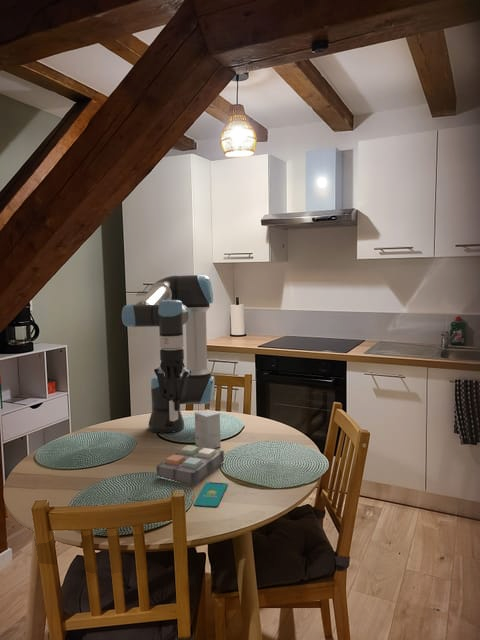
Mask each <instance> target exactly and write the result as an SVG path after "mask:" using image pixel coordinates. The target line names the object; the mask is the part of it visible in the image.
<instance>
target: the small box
mask: <svg viewBox="0 0 480 640" xmlns="http://www.w3.org/2000/svg"><path fill="white" fill-rule="evenodd" d="M220 414H221V413H219V412H216V411H215V410H214V411H213V410H210V409H209V408H207V409H203V410H199V411H195V412H194V435H195V437H194V438H195V446H196V447H202V448H209V449H217V448H219V447H220V448H221V446H222V445H221V420H220V419H221V415H220Z"/></svg>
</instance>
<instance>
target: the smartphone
mask: <svg viewBox="0 0 480 640" xmlns="http://www.w3.org/2000/svg"><path fill="white" fill-rule="evenodd" d="M228 485H229V483H227V482H209V481H208V482H207V481H206V482H205V483H204V485H203V486H202V488H201V490H200V492H199V494H198V495H197V497H196V499H195V501H194V503H193V506H194V507H204V508H218V507H219V506H220V504H221V501H222V499H223V497H224V494H225V492H226V491H227V488H228V487H229V486H228Z"/></svg>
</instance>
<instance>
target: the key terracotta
mask: <svg viewBox="0 0 480 640" xmlns="http://www.w3.org/2000/svg"><path fill="white" fill-rule="evenodd" d="M175 454H176V453H175ZM175 454H174V453H173V454H171V455H169V456H168V457H167V458H166V459H165V460H166V464H170V465H176V466H178V465H180V464H181V463H183V462H184V461H185V456H180V455H175Z"/></svg>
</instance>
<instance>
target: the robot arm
mask: <svg viewBox="0 0 480 640" xmlns="http://www.w3.org/2000/svg"><path fill="white" fill-rule="evenodd" d="M213 293H214V292H213V286H212V282H211V279H210V277H209V276H207V275H202V274H195V275H194V274H192V275H190V274H189V275H169V276H167V277H164V278H161V279H160V280H158V281H155V282H154V283H153V284H152V285H151V286H150V287H149V289H148V292H147V293H146V294H145V295H144V296H143V297H142V298H141V299H140V300H139V301H138V302H137V303H135V304H126V305H124V306H123V307H122V311H121V320H122V321H121V322H122V324H123V325H124V326H125V327H126V328H128V327H130V328H141V327H142V328H144V327H145V328H146V327H147V328H149V327H151V328H152V327H153V328H154V327H156V328H157V327H158V328H159V329H158V330H159V348H160V350H159V357H160V358H159V359H160V360H159V361H160V363H159V364H160V366H158V367H157V368H155V369H154V368H153V369H154V370H153V371H154V373H155V375H154V376H153V377H152V378H151V384H150V385H151V386H150V390H151V392H150V393H151V413H150V417H149V420H148V431H150V432H152V433H156V434H167V433H166V432H172V433H174V432H173V431H176V432H178V431H177V430H179V431H181V430H180V429H182V428H183V427H184V428H185V421H184V417H183V415H182V412H181V405H203V404H204V405H207V404H210V403H211V402H212V400H213V397H214V390H215V384H216V383H215V380H216V378H215V376H214V375H212V371H211V370H210V369H209V368H208V346H207V345H208V344H207V343H208V342H207V341H208V340H207V311H208V310H209V309H210V305H211V304H213V302H214V294H213ZM184 325H185V345H186V346H185V347H186V349H185V351H186V367H185V363H184V359H185V357H184V356H185V355H184V354H185V353H184V352H185V351H184V348H183V347H184V329H183V328H184ZM181 375H182V376H181ZM184 428H183V429H184ZM183 429H182V430H183ZM158 432H160V433H158Z"/></svg>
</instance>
